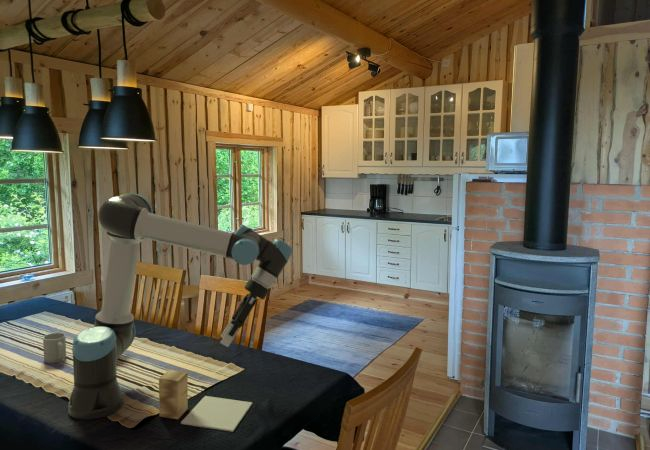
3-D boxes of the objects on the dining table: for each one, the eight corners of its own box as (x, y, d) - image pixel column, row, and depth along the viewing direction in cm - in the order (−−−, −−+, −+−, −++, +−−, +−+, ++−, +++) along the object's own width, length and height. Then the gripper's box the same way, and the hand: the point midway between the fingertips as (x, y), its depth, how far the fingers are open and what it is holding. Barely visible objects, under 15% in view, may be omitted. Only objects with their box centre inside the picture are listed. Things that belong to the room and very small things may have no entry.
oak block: (159, 416, 141) (159, 378, 140) (169, 406, 147) (169, 369, 146) (177, 419, 140) (177, 380, 139) (187, 409, 146) (187, 372, 145)
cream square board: (180, 423, 138) (180, 422, 138) (205, 397, 154) (205, 395, 154) (232, 431, 135) (232, 430, 135) (252, 403, 151) (252, 402, 151)
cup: (61, 353, 182) (60, 331, 181) (72, 361, 176) (72, 338, 175) (40, 359, 177) (39, 336, 175) (51, 367, 170) (50, 343, 169)
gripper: (274, 291, 143) (235, 354, 139) (266, 288, 167) (233, 341, 163) (252, 278, 142) (213, 341, 138) (248, 277, 166) (214, 330, 162)
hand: (223, 341), depth 150 cm, fingers open, 13 cm apart
